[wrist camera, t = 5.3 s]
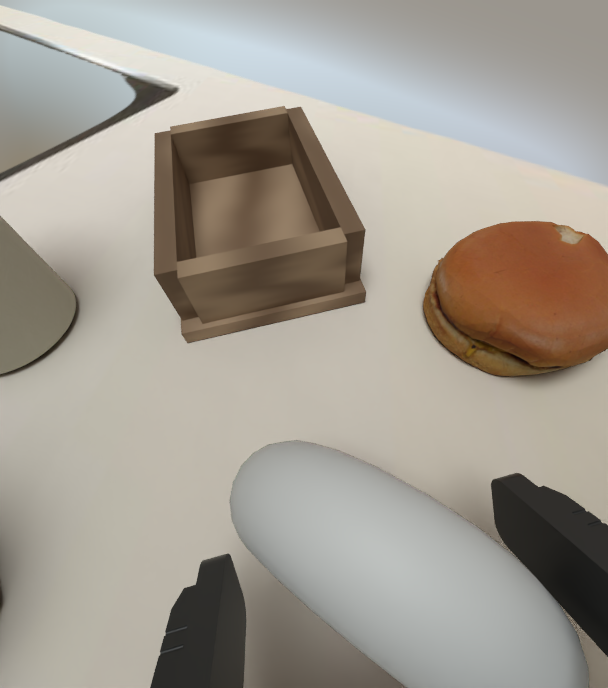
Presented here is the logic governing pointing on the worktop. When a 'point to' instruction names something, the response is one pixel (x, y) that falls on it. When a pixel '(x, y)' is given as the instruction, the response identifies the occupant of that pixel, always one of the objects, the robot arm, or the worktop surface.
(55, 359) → the worktop surface
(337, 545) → the donut
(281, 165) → the walnut stand
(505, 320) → the burger
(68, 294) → the travel mug
